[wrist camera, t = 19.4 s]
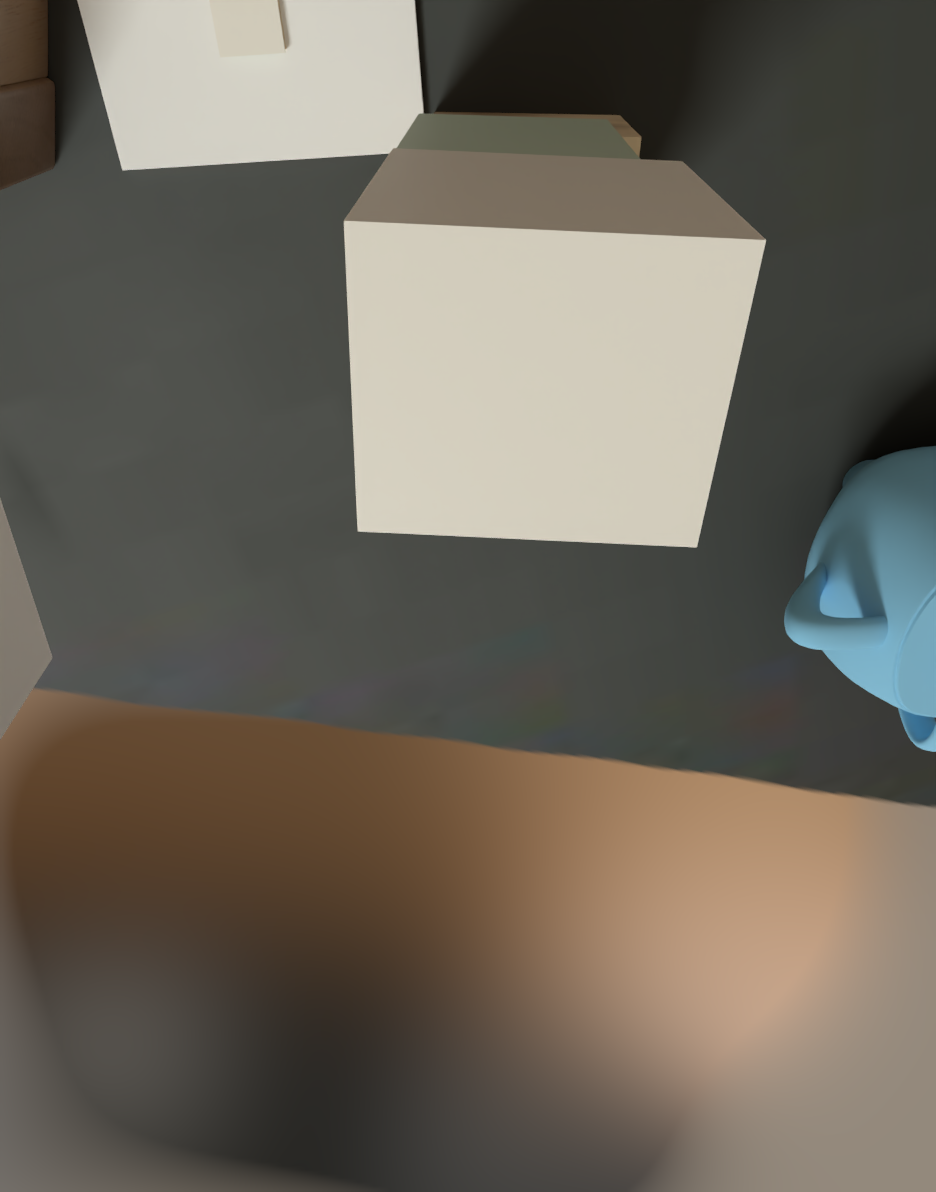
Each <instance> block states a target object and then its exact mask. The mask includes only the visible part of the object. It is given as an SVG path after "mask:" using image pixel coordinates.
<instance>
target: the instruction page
mask: <svg viewBox="0 0 936 1192" xmlns="http://www.w3.org/2000/svg"><path fill="white" fill-rule="evenodd" d="M77 1H78V5H79V9H80V13H81V16H82V20H83V24H84V28H85V31H86V35H87V39H88V43H89V46H90V50H91V54H92V58H93V61H94V65H95V69H96V73H97V76H98V80H99V84H100V88H101V91H102V95H103V99H104V103H105V107H106V110H107V114H108V118H109V122H110V125H111V129H112V133H113V137H114V140H115V144H116V148H117V152H118V155H119V159H120V163H121V167H122V170H136V169H152V168H167V167H183V166H199V165H215V164H231V163H246V162H262V161H278V160H294V159H309V158H325V157H341V156H357V155H372V154H388V153H390V152H391V151H392V149H393V148H397V147H398V145H399V143H400V142H401V140H402V139H403V137H404V136H405V134H406V133H407V131H408V130H409V128H410V126H411V125H412V123H413V122H414V120H415V119H416V117H417V116H418V114H419V113H420V114H424V106H423V94H422V81H421V68H420V56H419V43H418V30H417V18H416V5H415V0H77Z"/></svg>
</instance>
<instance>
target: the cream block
mask: <svg viewBox="0 0 936 1192" xmlns="http://www.w3.org/2000/svg"><path fill="white" fill-rule="evenodd" d="M344 235H345V258H346V280H347V303H348V325H349V348H350V370H351V392H352V415H353V437H354V460H355V482H356V504H357V527H358V531H361V532H382V533H403V534H424V535H445V536H467V537H488V538H509V539H530V540H551V541H572V542H594V543H615V544H636V545H657V546H678V547H697V544H698V540H699V535H700V531H701V526H702V522H703V517H704V513H705V509H706V504H707V500H708V495H709V491H710V486H711V482H712V478H713V473H714V469H715V464H716V460H717V455H718V451H719V446H720V442H721V438H722V433H723V429H724V424H725V420H726V415H727V411H728V407H729V402H730V398H731V393H732V389H733V384H734V380H735V376H736V371H737V367H738V362H739V358H740V353H741V349H742V344H743V340H744V336H745V331H746V327H747V322H748V318H749V313H750V309H751V305H752V300H753V296H754V291H755V287H756V282H757V278H758V273H759V269H760V265H761V260H762V256H763V251H764V247H765V242H766V240H765V239H764V238H763V237H762V236H761V235H760V234H759V233H758V232H757V231H756V230H755V229H754V228H753V227H752V226H751V225H749V224H748V223H747V222H746V221H745V220H744V219H743V218H742V217H741V216H740V215H739V214H738V213H737V212H736V211H735V210H734V209H732V208H731V207H730V206H729V205H728V204H727V203H726V202H725V201H724V200H723V199H722V198H721V197H720V196H719V195H718V194H717V193H715V192H714V191H713V190H712V189H711V188H710V187H709V186H708V185H707V184H706V183H705V182H704V181H703V180H702V179H701V178H699V177H698V176H697V175H696V174H695V173H694V172H693V171H692V170H691V169H690V168H689V167H688V166H687V165H686V164H685V163H684V162H682V161H666V160H644V159H622V158H600V157H578V156H556V155H534V154H512V153H490V152H468V151H446V150H424V149H401V148H393V149H392V151H391V152H390V153H389V155H388V156H387V158H386V159H385V161H384V162H383V164H382V165H381V167H380V168H379V170H378V171H377V173H376V174H375V176H374V177H373V179H372V180H371V181H370V183H369V184H368V186H367V187H366V189H365V190H364V192H363V193H362V195H361V196H360V198H359V199H358V201H357V202H356V204H355V205H354V207H353V208H352V209H351V211H350V212H349V214H348V215H347V217H346V218H345V220H344Z"/></svg>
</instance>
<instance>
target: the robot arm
mask: <svg viewBox="0 0 936 1192" xmlns="http://www.w3.org/2000/svg"><path fill="white" fill-rule="evenodd" d="M51 659H52V655H51V652H50V649H49V646H48V643H47V640H46V636H45V633H44V630H43V627H42V624H41V621H40V618H39V615H38V612H37V609H36V606H35V603H34V600H33V597H32V594H31V591H30V588H29V585H28V582H27V579H26V576H25V573H24V569H23V566H22V563H21V560H20V557H19V554H18V551H17V548H16V545H15V542H14V539H13V536H12V533H11V530H10V527H9V524H8V521H7V518H6V515H5V512H4V509H3V506H2V502H1V499H0V739H1V737H2V736H3V734H4V733H5V731H6V730H7V728H8V727H9V725H10V723H11V722H12V720H13V718H14V717H15V716H16V714H17V712H18V711H19V709H20V708H21V706H22V705H23V703H24V701H25V700H26V698H27V697H28V695H29V694H30V692H31V691H32V689H33V687H34V686H35V684H36V683H37V681H38V680H39V678H40V677H41V675H42V673H43V672H44V670H45V669H46V667H47V666H48V664H49V662H50V661H51Z"/></svg>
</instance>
